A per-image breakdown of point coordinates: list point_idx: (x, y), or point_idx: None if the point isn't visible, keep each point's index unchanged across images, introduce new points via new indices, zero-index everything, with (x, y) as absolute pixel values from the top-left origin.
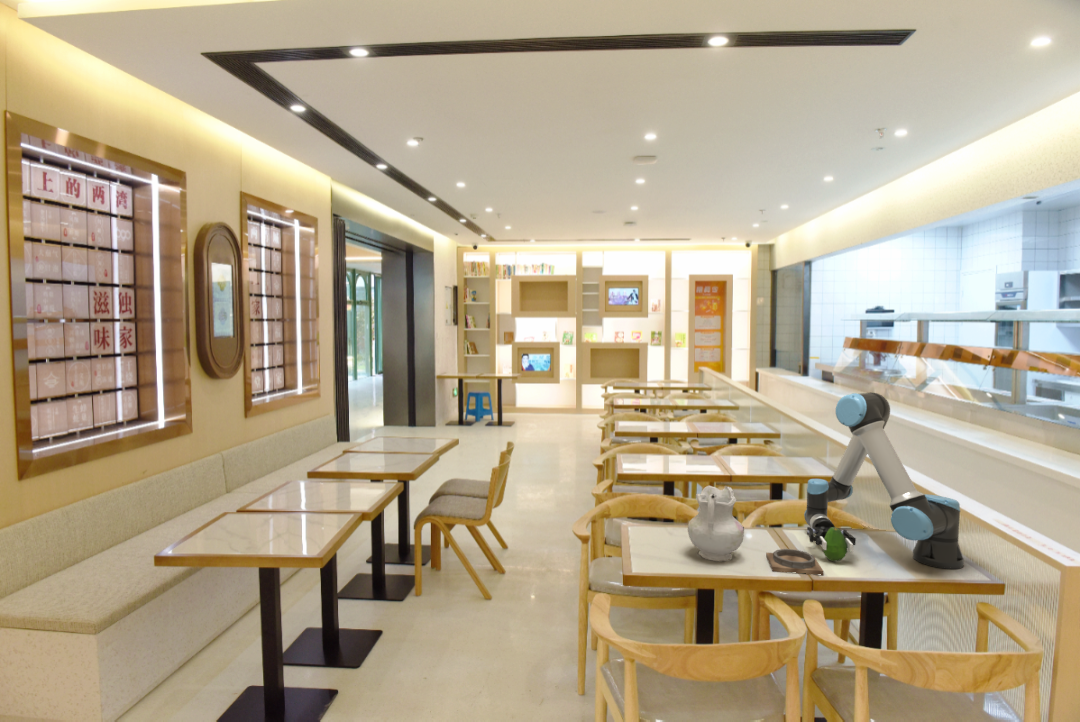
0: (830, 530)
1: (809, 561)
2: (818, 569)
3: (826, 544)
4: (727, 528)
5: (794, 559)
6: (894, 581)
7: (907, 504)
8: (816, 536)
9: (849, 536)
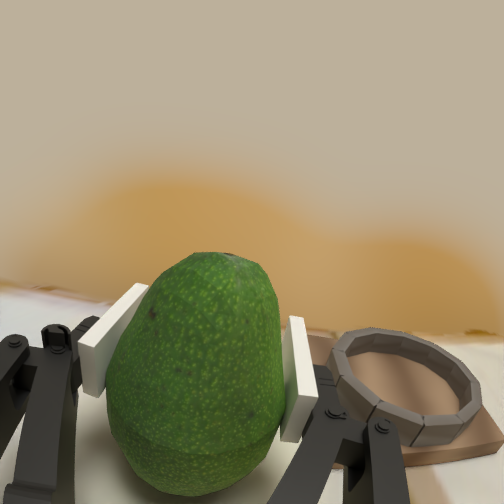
0: (264, 273)
1: (352, 334)
2: (315, 342)
3: (287, 325)
4: None
5: (403, 404)
6: (79, 297)
7: None
8: (343, 411)
9: (58, 328)
